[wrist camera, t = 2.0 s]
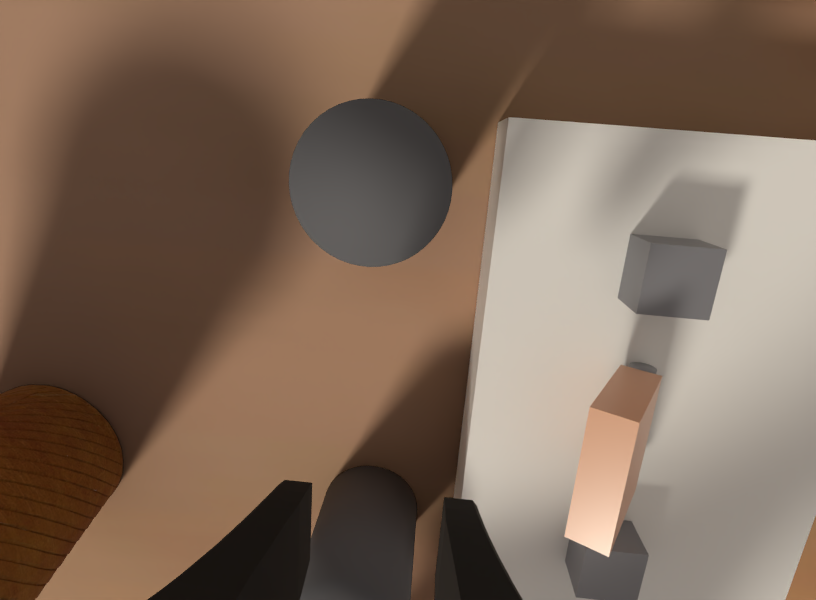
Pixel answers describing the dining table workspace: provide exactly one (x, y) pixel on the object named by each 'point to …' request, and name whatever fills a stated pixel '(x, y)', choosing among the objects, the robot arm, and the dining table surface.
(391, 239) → the post
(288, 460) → the dining table surface
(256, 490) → the dining table surface
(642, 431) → the tan rectangular block
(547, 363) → the panel
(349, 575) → the post
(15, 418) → the disposable coffee cup
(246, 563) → the robot arm
